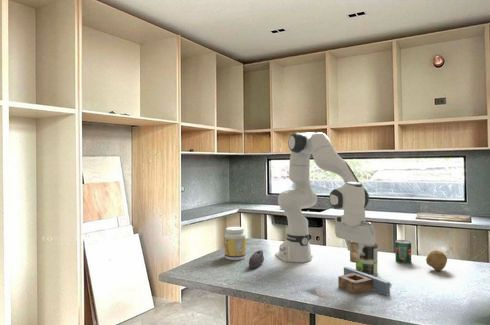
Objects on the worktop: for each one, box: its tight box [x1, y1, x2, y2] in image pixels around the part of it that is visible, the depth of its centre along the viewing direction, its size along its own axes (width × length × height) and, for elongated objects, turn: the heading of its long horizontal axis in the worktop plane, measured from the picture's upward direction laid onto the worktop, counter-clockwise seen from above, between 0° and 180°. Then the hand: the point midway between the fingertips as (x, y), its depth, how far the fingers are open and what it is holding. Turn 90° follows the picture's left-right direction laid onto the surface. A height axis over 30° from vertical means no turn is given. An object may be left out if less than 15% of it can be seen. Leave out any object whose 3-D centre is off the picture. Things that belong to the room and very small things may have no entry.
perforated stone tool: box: [248, 249, 265, 269], centre depth 184 cm, size 15×5×7 cm, turn 153°
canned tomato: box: [394, 239, 413, 265], centre depth 189 cm, size 8×8×11 cm
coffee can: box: [355, 243, 379, 277], centre depth 171 cm, size 10×10×14 cm
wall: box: [343, 266, 391, 296], centre depth 154 cm, size 24×2×5 cm, turn 29°
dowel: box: [349, 241, 360, 264], centre depth 151 cm, size 4×4×8 cm
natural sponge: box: [425, 249, 448, 272], centre depth 173 cm, size 9×9×10 cm
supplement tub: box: [223, 226, 247, 261], centre depth 201 cm, size 12×12×17 cm
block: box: [337, 273, 374, 295], centre depth 151 cm, size 10×10×4 cm
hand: (354, 251), depth 151 cm, fingers closed on dowel, 4 cm apart
